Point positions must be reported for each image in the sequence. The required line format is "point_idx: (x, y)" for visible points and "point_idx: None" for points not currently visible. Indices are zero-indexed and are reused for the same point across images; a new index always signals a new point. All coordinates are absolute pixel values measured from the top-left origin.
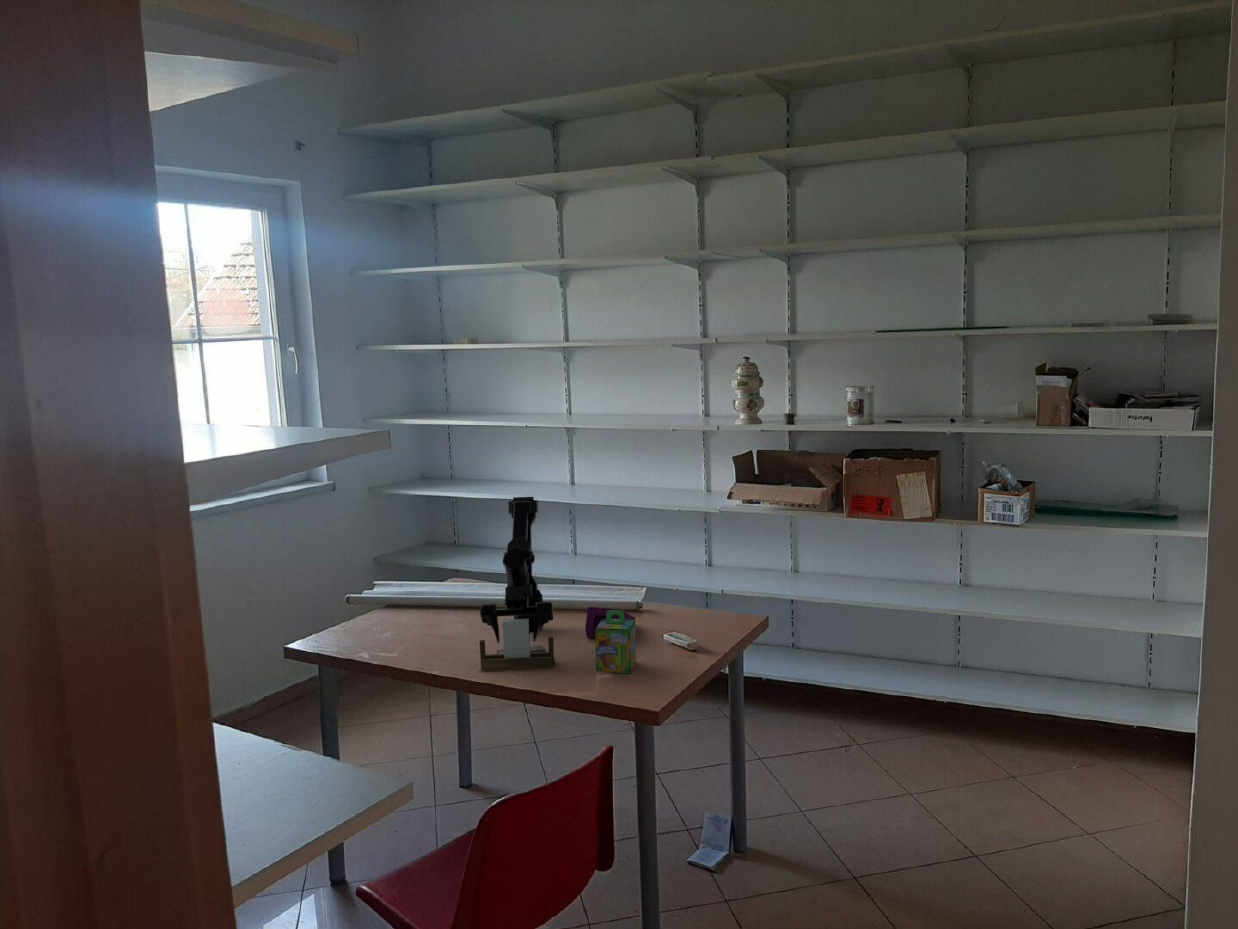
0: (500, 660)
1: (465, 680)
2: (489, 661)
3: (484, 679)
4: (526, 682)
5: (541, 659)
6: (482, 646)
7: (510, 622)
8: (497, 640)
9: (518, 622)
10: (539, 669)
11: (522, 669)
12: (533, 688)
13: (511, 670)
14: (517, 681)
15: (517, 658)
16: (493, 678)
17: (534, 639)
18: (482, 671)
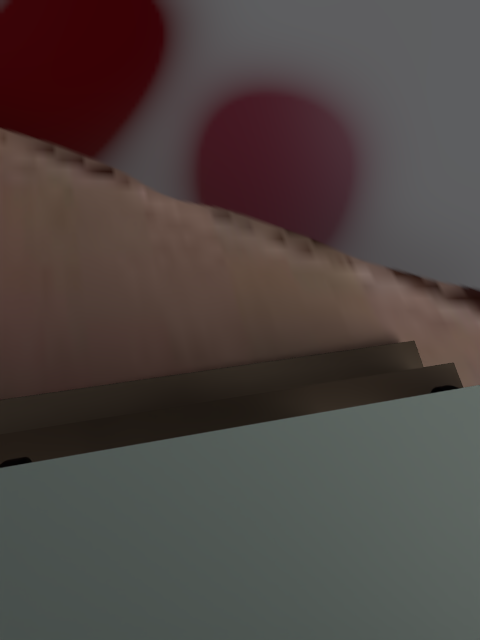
0: (334, 381)
1: (436, 283)
2: (401, 372)
3: (356, 295)
4: (135, 257)
5: (31, 429)
6: None
7: (460, 388)
8: (451, 386)
9: (245, 432)
10: (70, 397)
11: (182, 393)
12: (90, 188)
13: (246, 375)
14: (185, 270)
15: (222, 415)
16: (317, 308)
17: (8, 462)
18: (402, 353)
